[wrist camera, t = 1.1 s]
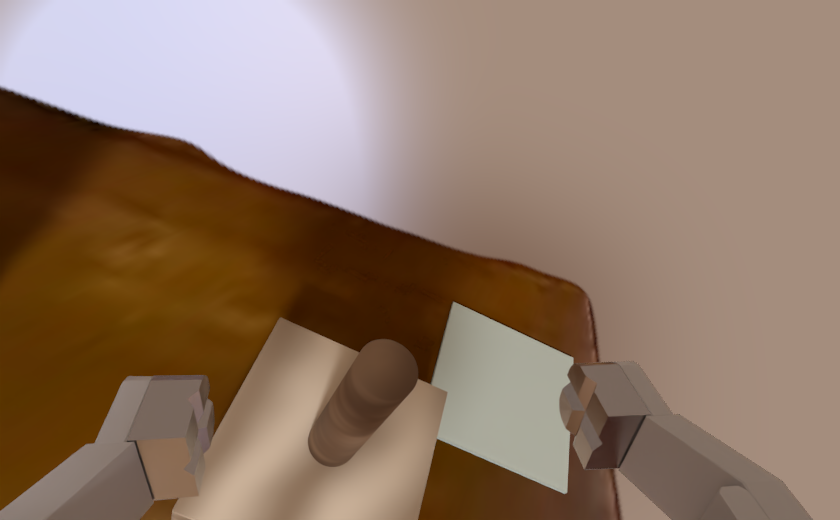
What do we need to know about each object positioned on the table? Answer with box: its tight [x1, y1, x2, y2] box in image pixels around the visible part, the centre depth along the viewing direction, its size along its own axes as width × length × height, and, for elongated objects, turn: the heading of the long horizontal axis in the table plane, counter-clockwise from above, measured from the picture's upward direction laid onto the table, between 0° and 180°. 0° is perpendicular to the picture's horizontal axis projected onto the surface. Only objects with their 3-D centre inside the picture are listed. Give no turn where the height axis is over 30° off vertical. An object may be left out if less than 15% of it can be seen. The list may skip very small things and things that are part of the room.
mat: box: [431, 302, 573, 494], centre depth 48 cm, size 14×14×1 cm
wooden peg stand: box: [172, 317, 448, 520], centre depth 31 cm, size 14×14×17 cm
